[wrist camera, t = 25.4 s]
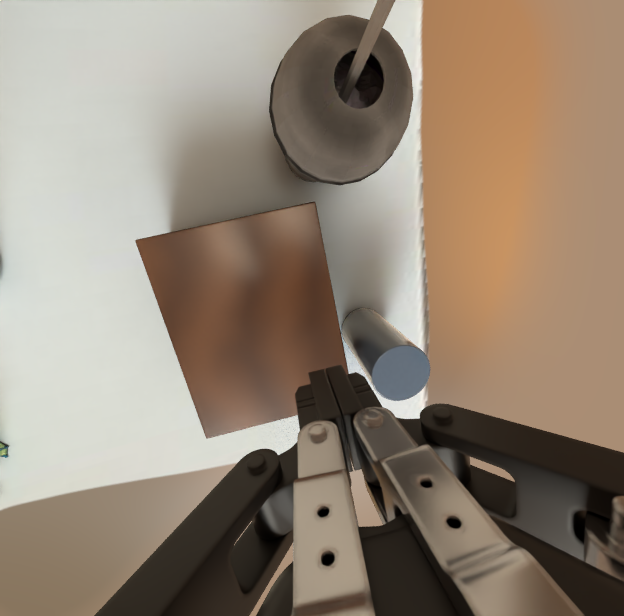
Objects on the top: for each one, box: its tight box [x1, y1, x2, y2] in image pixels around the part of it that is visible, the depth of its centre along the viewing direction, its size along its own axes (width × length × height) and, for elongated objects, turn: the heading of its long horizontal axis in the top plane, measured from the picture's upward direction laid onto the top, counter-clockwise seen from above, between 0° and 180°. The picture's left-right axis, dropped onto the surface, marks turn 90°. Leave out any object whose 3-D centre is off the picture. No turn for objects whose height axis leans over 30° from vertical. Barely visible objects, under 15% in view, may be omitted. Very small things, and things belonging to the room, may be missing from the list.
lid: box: [136, 202, 349, 438], centre depth 24 cm, size 12×16×1 cm
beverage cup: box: [269, 0, 413, 185], centre depth 18 cm, size 7×7×20 cm
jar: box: [342, 308, 430, 401], centre depth 28 cm, size 4×4×10 cm
